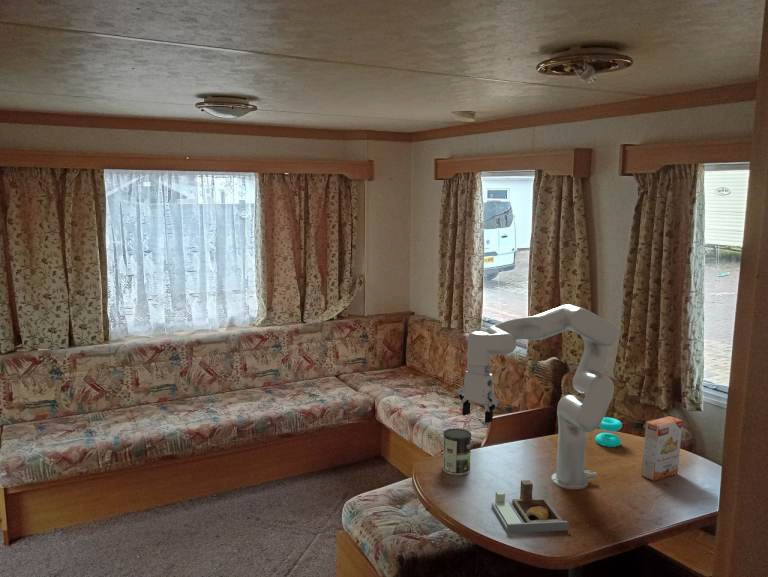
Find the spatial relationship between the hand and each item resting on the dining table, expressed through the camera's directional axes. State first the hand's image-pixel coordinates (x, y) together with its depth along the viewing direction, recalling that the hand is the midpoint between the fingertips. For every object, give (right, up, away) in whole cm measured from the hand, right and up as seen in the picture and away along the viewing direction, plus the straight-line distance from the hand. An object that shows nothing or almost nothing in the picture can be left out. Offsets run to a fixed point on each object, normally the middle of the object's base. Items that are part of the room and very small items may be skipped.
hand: (477, 418), depth 214 cm
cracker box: (+70, -25, +20) cm, 77 cm away
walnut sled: (+17, -28, -11) cm, 35 cm away
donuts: (+62, -21, +50) cm, 82 cm away
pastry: (+17, -29, -13) cm, 36 cm away
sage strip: (+8, -28, -12) cm, 32 cm away
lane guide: (+14, -29, -13) cm, 35 cm away
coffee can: (-5, -24, +22) cm, 33 cm away
